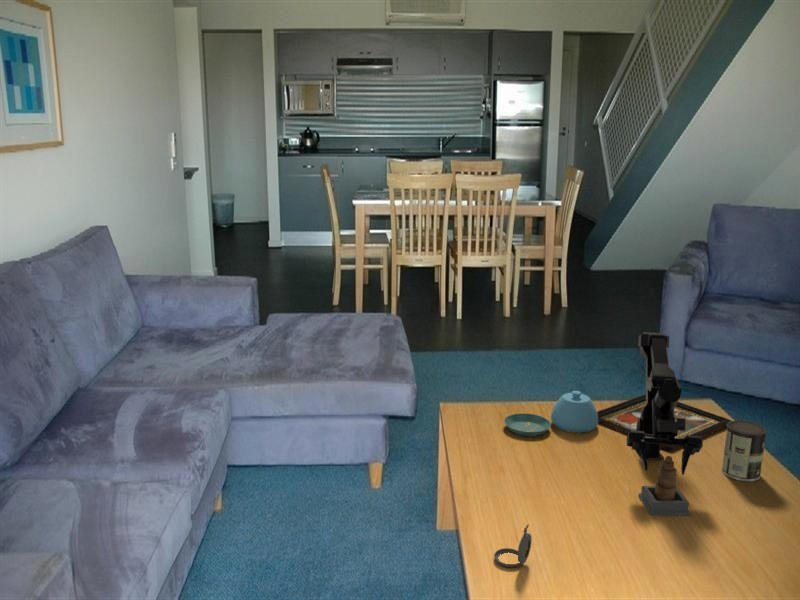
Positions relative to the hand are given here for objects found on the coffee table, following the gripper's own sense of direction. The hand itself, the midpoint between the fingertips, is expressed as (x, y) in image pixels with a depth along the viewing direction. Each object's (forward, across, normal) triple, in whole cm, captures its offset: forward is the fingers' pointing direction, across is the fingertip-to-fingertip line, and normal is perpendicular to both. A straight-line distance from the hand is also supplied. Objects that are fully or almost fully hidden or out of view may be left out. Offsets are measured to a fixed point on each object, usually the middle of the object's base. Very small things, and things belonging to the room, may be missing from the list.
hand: (664, 472), depth 203 cm
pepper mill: (+7, 0, +2) cm, 8 cm away
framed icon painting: (-31, +6, +45) cm, 55 cm away
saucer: (-20, -36, +33) cm, 53 cm away
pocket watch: (+32, -37, -22) cm, 54 cm away
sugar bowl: (-25, -22, +38) cm, 50 cm away
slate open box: (+8, 0, +2) cm, 8 cm away
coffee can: (-8, +24, +20) cm, 32 cm away
